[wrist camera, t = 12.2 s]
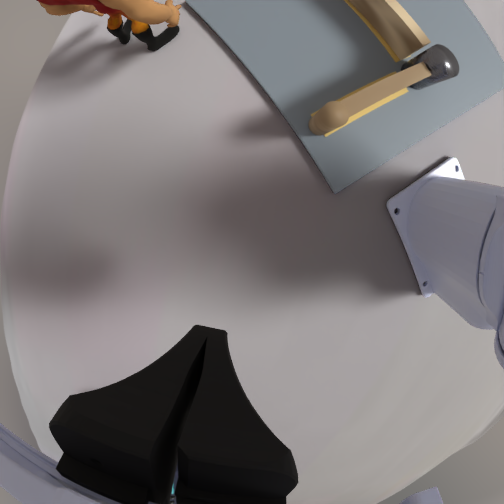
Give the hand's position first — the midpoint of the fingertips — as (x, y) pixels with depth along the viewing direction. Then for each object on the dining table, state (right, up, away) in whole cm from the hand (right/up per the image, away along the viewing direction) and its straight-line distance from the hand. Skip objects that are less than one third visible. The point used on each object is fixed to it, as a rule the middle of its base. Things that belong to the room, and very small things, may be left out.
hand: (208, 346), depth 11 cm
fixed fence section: (+9, +14, +4) cm, 17 cm away
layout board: (+13, +22, +2) cm, 26 cm away
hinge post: (+14, +17, +4) cm, 23 cm away
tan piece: (+9, +23, +1) cm, 25 cm away
